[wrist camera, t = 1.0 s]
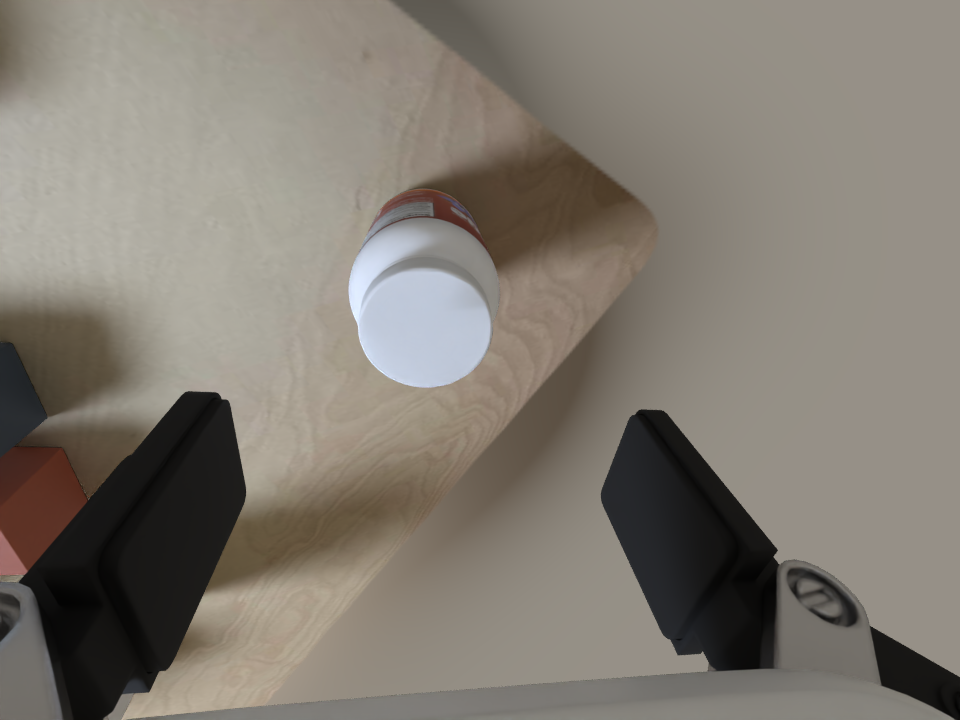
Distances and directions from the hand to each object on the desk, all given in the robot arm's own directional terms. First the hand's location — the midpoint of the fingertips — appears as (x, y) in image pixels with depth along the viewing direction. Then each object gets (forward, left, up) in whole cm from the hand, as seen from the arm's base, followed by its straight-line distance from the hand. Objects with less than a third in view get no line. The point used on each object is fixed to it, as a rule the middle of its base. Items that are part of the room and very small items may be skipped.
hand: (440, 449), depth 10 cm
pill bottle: (0, 0, -17) cm, 17 cm away
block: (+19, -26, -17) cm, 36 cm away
